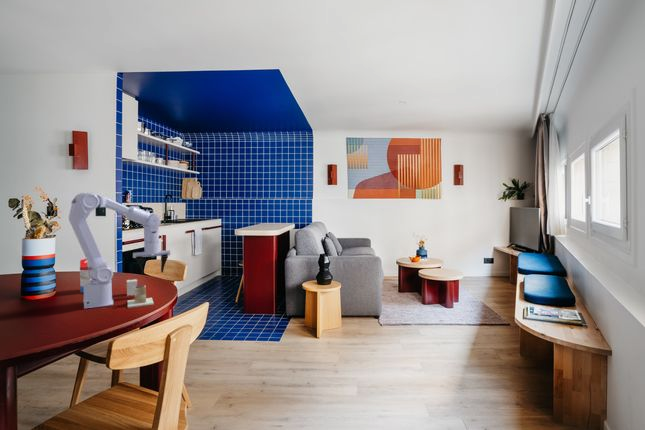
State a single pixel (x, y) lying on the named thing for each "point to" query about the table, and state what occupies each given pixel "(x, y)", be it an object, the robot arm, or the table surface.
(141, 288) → the labelled block
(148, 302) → the sage pad
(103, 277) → the robot arm
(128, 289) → the grey block
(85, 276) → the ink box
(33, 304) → the table surface
